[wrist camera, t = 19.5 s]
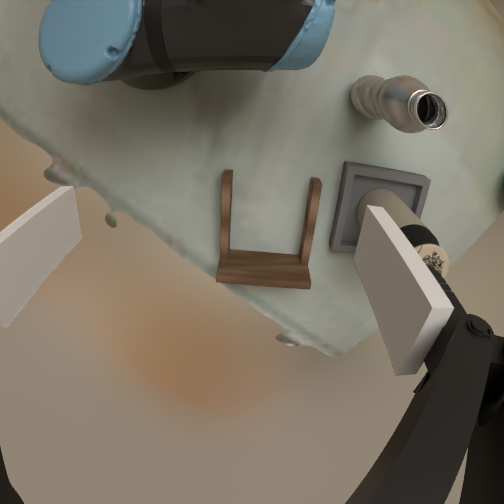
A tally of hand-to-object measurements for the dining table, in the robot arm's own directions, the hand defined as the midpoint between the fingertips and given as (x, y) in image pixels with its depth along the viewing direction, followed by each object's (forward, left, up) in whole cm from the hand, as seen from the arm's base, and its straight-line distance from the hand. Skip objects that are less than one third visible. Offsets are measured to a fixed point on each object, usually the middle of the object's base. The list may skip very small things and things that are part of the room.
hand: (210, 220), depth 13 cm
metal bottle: (-6, +17, -35) cm, 39 cm away
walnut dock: (+16, +4, -35) cm, 38 cm away
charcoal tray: (+12, +22, -35) cm, 43 cm away
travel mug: (+12, +22, -34) cm, 42 cm away
